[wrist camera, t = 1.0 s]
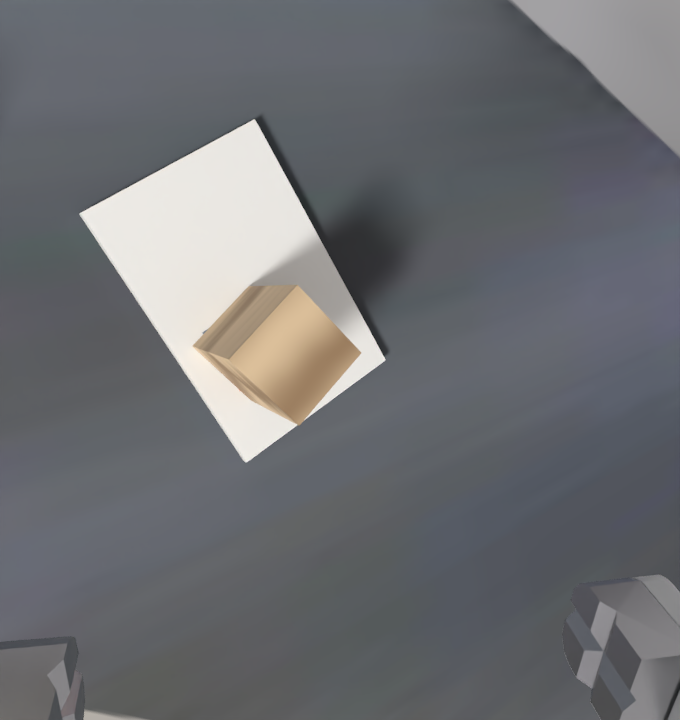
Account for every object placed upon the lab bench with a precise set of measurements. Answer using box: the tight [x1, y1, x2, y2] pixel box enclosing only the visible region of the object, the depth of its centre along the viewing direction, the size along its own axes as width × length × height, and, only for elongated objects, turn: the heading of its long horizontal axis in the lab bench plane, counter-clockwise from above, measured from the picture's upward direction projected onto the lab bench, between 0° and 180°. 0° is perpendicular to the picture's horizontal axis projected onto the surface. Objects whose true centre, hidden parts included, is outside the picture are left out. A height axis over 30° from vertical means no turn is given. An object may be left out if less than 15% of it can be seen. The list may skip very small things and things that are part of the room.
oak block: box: [192, 285, 361, 425], centre depth 42 cm, size 6×6×10 cm
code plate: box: [79, 119, 385, 463], centre depth 47 cm, size 21×14×1 cm, turn 31°
